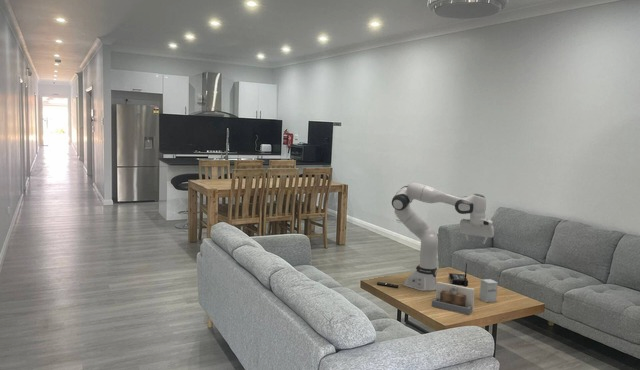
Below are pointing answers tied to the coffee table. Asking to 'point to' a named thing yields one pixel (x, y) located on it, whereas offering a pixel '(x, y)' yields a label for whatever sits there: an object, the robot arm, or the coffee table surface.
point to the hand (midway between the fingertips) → (475, 242)
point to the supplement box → (488, 290)
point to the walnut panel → (453, 297)
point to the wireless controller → (459, 278)
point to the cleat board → (460, 290)
